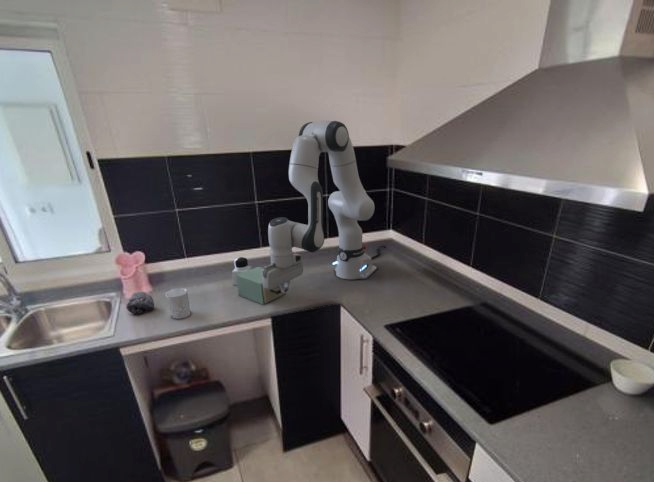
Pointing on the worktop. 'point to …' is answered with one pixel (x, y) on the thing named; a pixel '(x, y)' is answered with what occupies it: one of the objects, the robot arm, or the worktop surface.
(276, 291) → the drawer with handle
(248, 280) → the drawer cabinet
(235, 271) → the astronaut figurine
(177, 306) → the white cup
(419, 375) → the worktop surface
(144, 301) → the pumice stone
